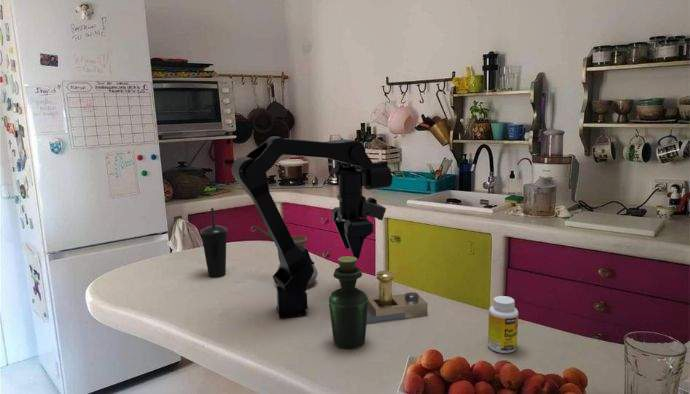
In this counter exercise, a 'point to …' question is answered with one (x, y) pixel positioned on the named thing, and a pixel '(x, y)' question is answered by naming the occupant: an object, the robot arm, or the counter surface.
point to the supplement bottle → (503, 325)
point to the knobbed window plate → (397, 308)
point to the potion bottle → (348, 306)
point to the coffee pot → (297, 240)
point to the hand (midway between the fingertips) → (351, 253)
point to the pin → (385, 288)
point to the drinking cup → (215, 248)
